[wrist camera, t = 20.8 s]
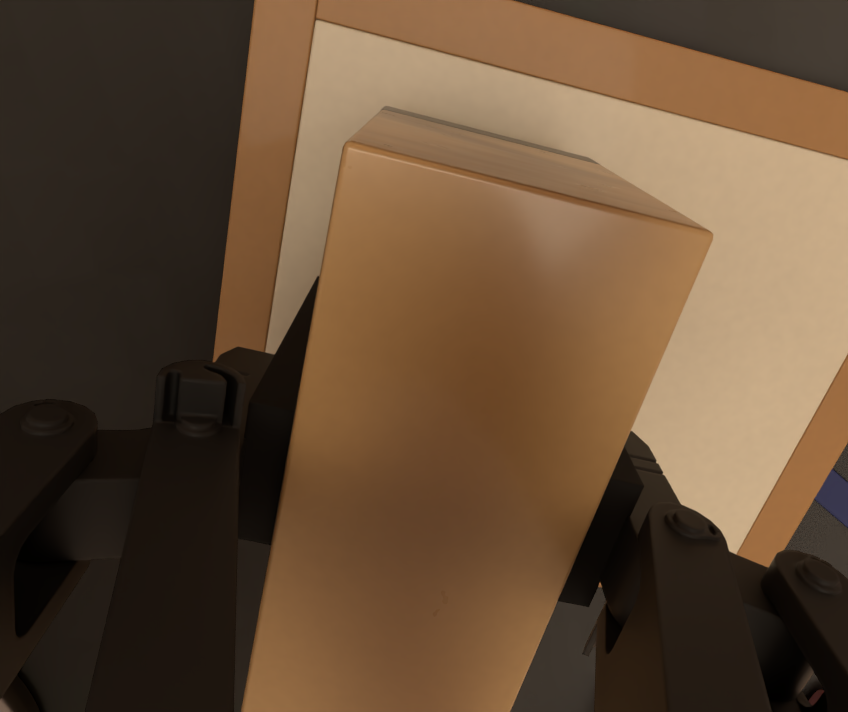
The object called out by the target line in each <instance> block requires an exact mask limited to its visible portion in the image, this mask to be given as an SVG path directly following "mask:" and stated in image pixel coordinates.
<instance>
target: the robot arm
mask: <svg viewBox="0 0 848 712" xmlns="http://www.w3.org/2000/svg"><path fill="white" fill-rule="evenodd" d="M318 281H319V276H317V278H316V280H315V282H314V283H313V285H312V287H311V289H310V291H309V293H308V294H307V296H306V298H305V300H304V302H303V304H302V305H301V307H300V309H299V311H298V313H297V315H296V316H295V318H294V320H293V322H292V324H291V326H290V327H289V329H288V331H287V333H286V335H285V337H284V338H283V340H282V342H281V344H280V346H279V348H278V349H277V351H276V353H275V354H270V353H266V352H261V351H257V350H252V349H248V348H243V347H239V346H237V347H235V348H233V349H231V350H229V351H227V352H224V353H222V354H220V356H219V357H218V358H217V360H216V361H215V362H210V361H205V360H187V361H181V362H176V363H172V364H170V365H168V366H166V367H164V368H162V369H161V371H160V372H159V373H158V375H157V379H156V392H155V405H154V418H153V425H152V427H151V428H146V429H140V430H97V426H98V422H97V419H96V416H95V413H93V412H92V411H91V410H89V409H88V408H87V407H85V406H83V405H80V404H77V403H74V402H71V401H62V400H55V399H45V400H36V401H31V402H27V403H23V404H20V405H16V406H14V407H12V408H10V409H8V410H7V411H5V412H3V413H1V414H0V712H40V710H39V708H38V706H37V704H36V702H35V700H34V698H33V696H32V695H31V693H30V692H29V690H28V689H27V687H26V686H25V684H24V683H23V682H22V680H21V679H20V678H19V677H18V675H17V674H18V672H19V671H20V669H21V668H22V666H23V665H24V663H25V662H26V660H27V659H28V657H29V656H30V654H31V653H32V651H33V650H34V648H35V647H36V645H37V644H38V642H39V640H40V639H41V637H42V636H43V634H44V633H45V631H46V630H47V628H48V627H49V625H50V624H51V622H52V621H53V619H54V618H55V616H56V615H57V613H58V612H59V610H60V609H61V607H62V606H63V604H64V603H65V601H66V600H67V598H68V597H69V595H70V594H71V592H72V591H73V589H74V588H75V586H76V585H77V583H78V582H79V580H80V579H81V577H82V576H83V574H84V573H85V571H86V570H87V568H88V566H89V564H90V561H91V560H95V559H114V558H121V560H120V565H119V569H118V573H117V577H116V581H115V586H114V590H113V594H112V598H111V603H110V607H109V611H108V615H107V620H106V624H105V628H104V632H103V636H102V641H101V645H100V649H99V653H98V658H97V662H96V666H95V670H94V675H93V679H92V683H91V687H90V691H89V696H88V700H87V704H86V708H85V712H234V675H235V631H236V587H237V544H238V539H244V540H249V541H254V542H259V543H264V544H269V545H271V542H272V536H273V531H274V525H275V520H276V514H277V509H278V503H279V498H280V492H281V486H282V481H283V475H284V470H285V464H286V459H287V453H288V448H289V442H290V437H291V431H292V425H293V420H294V414H295V409H296V403H297V398H298V392H299V387H300V381H301V376H302V370H303V364H304V359H305V353H306V348H307V342H308V337H309V331H310V326H311V320H312V315H313V309H314V304H315V298H316V292H317V287H318ZM656 461H657V460H656V458H655V457H654V455H653V453H652V451H651V449H650V448H649V446H648V445H647V444H646V443H645V442H644V441H643V440H641V439H640V438H639V437H638V436H637V435H636V434H635V433H634V432H633V431H630V434H629V436H628V438H627V441H626V443H625V445H624V448H623V450H622V452H621V455H620V457H619V459H618V462H617V464H616V466H615V469H614V471H613V473H612V476H611V478H610V480H609V483H608V485H607V487H606V489H605V492H604V494H603V496H602V499H601V501H600V503H599V506H598V508H597V510H596V513H595V515H594V517H593V520H592V522H591V524H590V527H589V529H588V531H587V534H586V536H585V538H584V541H583V543H582V545H581V548H580V550H579V552H578V555H577V557H576V559H575V562H574V564H573V566H572V569H571V571H570V573H569V576H568V578H567V580H566V583H565V585H564V587H563V589H562V592H561V594H560V596H559V599H558V601H561V602H566V603H571V604H576V605H581V606H586V607H589V605H590V603H591V601H592V599H593V597H594V594H595V592H596V590H597V588H598V586H599V584H600V583H601V586H602V589H603V592H604V595H605V598H606V602H605V604H604V607H603V609H602V611H601V613H600V615H599V617H598V619H597V621H596V624H595V626H594V628H593V630H592V632H591V634H590V636H589V638H588V640H587V643H586V645H585V647H584V650H583V653H582V654H584V655H586V656H589V654H590V652H591V650H592V648H593V647H595V646H596V670H595V708H594V712H848V579H847V578H846V577H845V576H844V575H843V574H842V573H840V572H839V571H837V570H836V569H835V568H833V567H832V565H831V564H829V563H828V562H826V561H824V560H820V558H818V557H816V556H814V555H809V554H806V553H803V552H800V551H795V550H783V551H780V552H778V553H777V554H776V555H775V557H774V559H773V560H772V562H771V564H770V565H769V567H766V566H763V565H761V564H758V563H756V562H753V561H751V560H748V559H746V558H744V557H741V556H739V555H736V554H734V553H732V552H730V551H729V549H728V545H727V542H726V539H725V537H724V535H723V534H722V532H721V530H720V529H719V528H718V527H717V526H716V525H715V524H714V523H713V522H712V521H711V520H709V519H708V518H706V517H705V516H703V515H702V514H700V513H699V512H697V511H695V510H693V509H691V508H688V507H686V506H684V505H681V503H680V502H679V500H678V498H677V496H676V494H675V493H674V491H673V489H672V487H671V485H670V484H669V482H668V480H667V478H666V476H665V475H663V471H662V469H661V467H660V466H659V464H658V463H656ZM813 673H815V675H816V676H817V678H818V680H819V681H820V683H821V685H822V687H823V689H824V692H823V694H822V695H821V696H820V698H819V699H818V701H817V702H816V703H815V704H814V705H813V706H812V705H811V704H810V703H809V701H808V700H807V698H806V696H805V695H804V693H803V691H802V689H803V688H804V687H805V685H806V684H807V682H808V681H809V679H810V678H811V676H812V675H813Z"/></svg>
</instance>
